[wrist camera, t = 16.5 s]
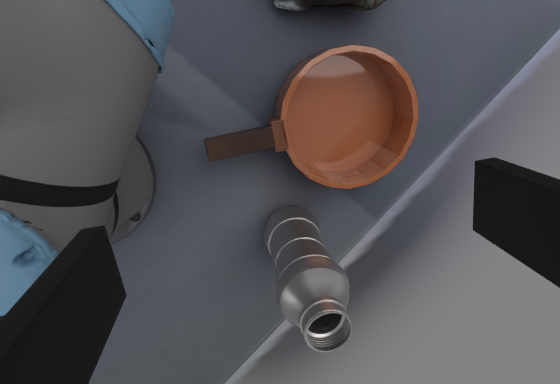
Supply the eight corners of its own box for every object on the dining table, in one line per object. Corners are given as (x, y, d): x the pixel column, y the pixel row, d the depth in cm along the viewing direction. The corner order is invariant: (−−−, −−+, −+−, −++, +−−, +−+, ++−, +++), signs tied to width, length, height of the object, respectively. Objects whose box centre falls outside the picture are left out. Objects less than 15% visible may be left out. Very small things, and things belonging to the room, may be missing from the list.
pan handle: (211, 160, 41) (210, 167, 39) (203, 131, 40) (202, 135, 38) (285, 144, 42) (289, 150, 39) (280, 115, 41) (284, 118, 38)
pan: (287, 187, 46) (294, 201, 41) (263, 61, 41) (268, 61, 36) (402, 161, 47) (422, 172, 42) (392, 36, 42) (413, 32, 37)
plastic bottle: (325, 227, 48) (389, 331, 29) (283, 260, 49) (318, 382, 30) (293, 189, 46) (340, 276, 27) (250, 224, 47) (266, 333, 28)
